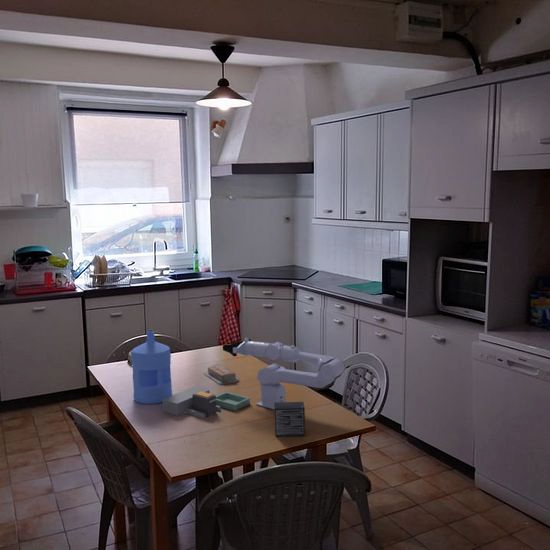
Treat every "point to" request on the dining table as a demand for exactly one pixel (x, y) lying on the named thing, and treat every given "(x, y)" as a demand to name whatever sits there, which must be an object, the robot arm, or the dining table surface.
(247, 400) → the tray
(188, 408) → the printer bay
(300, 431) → the small box
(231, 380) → the packaged product
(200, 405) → the grey block orange panel
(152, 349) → the water jug
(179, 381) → the dining table surface
